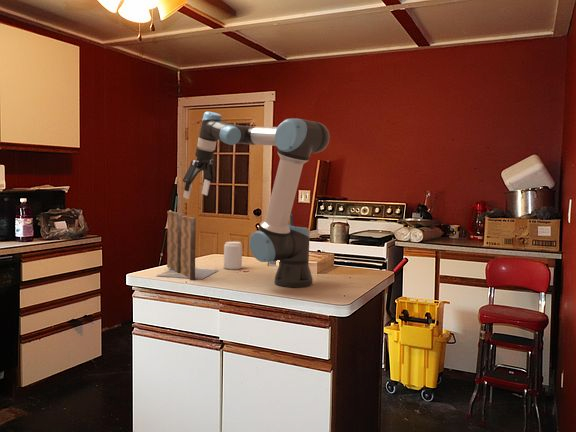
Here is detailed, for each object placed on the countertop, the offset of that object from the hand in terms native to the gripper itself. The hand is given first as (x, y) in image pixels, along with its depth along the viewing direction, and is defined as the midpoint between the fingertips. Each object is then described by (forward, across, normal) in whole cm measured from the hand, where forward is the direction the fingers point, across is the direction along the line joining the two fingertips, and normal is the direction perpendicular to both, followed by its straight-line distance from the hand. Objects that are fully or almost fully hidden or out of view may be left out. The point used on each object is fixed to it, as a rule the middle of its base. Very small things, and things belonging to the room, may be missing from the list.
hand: (195, 196), depth 225 cm
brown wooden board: (+33, +7, +1) cm, 34 cm away
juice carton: (+28, -34, +33) cm, 55 cm away
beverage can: (+30, -12, +20) cm, 38 cm away
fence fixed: (+29, +14, +13) cm, 35 cm away
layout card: (+31, +8, +10) cm, 33 cm away
